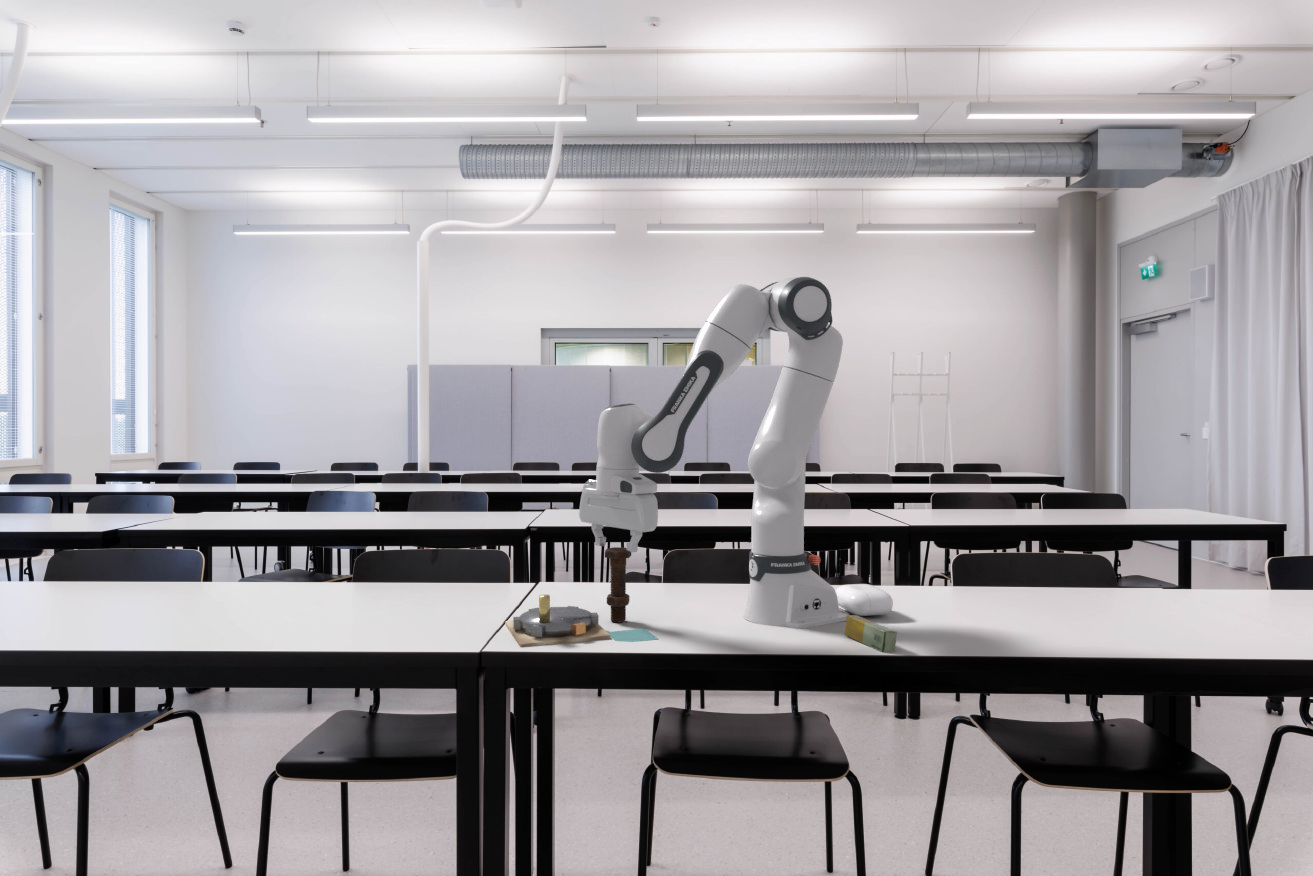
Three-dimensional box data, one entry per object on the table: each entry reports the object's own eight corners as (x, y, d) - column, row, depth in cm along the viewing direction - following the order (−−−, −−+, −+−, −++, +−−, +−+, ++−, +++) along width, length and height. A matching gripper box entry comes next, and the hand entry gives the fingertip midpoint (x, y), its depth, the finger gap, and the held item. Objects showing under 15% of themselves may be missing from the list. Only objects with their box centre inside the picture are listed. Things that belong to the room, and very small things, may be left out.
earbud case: (871, 603, 168) (871, 580, 168) (899, 618, 155) (899, 592, 155) (828, 605, 167) (829, 581, 166) (853, 620, 154) (853, 594, 154)
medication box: (896, 654, 131) (898, 632, 131) (883, 654, 130) (886, 632, 130) (855, 634, 142) (857, 614, 142) (843, 634, 141) (845, 614, 141)
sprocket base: (586, 618, 155) (586, 613, 155) (610, 640, 139) (610, 635, 139) (505, 626, 149) (505, 621, 149) (520, 649, 133) (520, 644, 133)
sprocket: (540, 612, 154) (539, 579, 154) (607, 618, 149) (607, 584, 149) (500, 633, 138) (499, 596, 138) (574, 640, 134) (574, 602, 134)
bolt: (627, 625, 149) (627, 551, 149) (603, 624, 150) (603, 551, 150) (632, 618, 155) (632, 547, 155) (609, 617, 156) (609, 546, 155)
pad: (644, 629, 146) (644, 628, 146) (658, 640, 139) (658, 639, 138) (606, 633, 143) (606, 632, 143) (618, 645, 136) (618, 643, 136)
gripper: (573, 479, 157) (571, 543, 157) (641, 486, 143) (639, 557, 143) (595, 478, 161) (593, 540, 162) (663, 485, 147) (661, 553, 148)
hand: (615, 548), depth 152 cm, fingers open, 8 cm apart
